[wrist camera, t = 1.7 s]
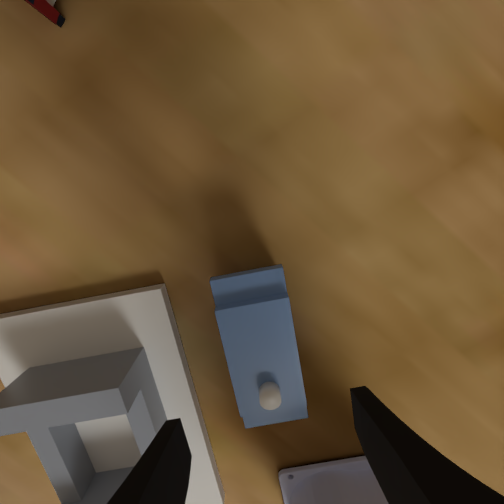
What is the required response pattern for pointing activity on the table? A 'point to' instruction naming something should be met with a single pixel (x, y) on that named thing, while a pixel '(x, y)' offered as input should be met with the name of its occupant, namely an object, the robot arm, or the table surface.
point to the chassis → (101, 391)
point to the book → (48, 10)
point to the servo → (260, 345)
